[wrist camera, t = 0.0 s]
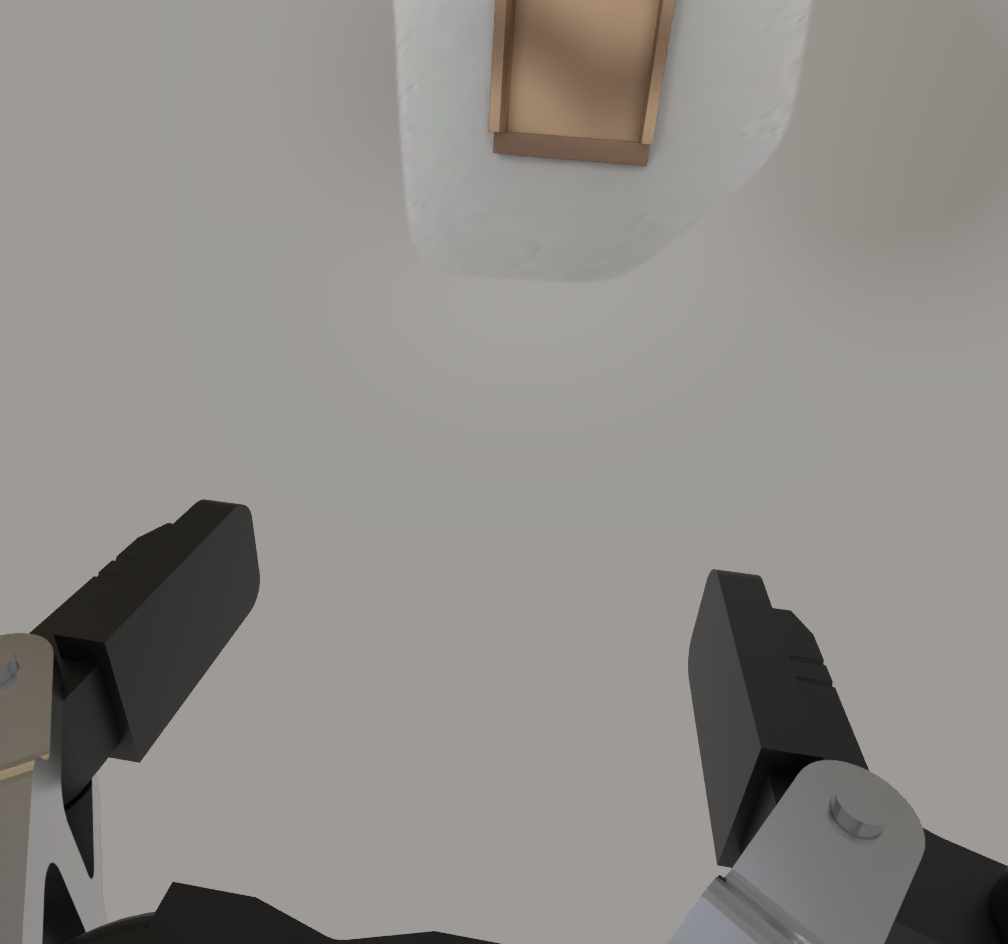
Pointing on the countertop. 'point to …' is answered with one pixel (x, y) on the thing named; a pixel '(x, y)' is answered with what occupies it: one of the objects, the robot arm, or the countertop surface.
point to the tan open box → (578, 77)
